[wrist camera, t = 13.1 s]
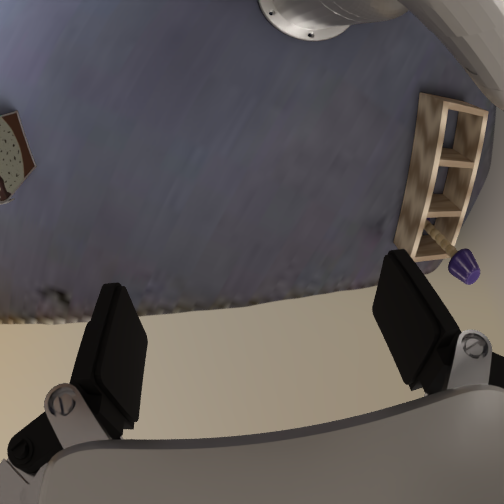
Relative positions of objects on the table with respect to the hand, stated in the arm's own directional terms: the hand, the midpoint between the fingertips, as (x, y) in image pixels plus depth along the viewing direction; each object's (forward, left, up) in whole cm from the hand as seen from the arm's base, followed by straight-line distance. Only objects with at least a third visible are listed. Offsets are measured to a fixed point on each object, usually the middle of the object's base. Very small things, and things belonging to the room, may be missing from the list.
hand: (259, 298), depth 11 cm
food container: (-1, -33, -33) cm, 47 cm away
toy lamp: (+17, +32, -33) cm, 49 cm away
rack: (+9, +32, -33) cm, 47 cm away
